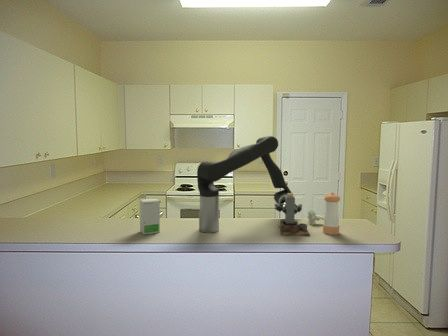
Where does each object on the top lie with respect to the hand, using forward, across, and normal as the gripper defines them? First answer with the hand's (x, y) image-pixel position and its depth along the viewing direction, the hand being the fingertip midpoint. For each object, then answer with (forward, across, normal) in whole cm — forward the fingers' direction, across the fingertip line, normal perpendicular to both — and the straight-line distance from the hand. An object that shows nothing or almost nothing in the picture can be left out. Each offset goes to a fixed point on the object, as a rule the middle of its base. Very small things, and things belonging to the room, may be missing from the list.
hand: (290, 211), depth 148 cm
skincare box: (+3, -67, +10) cm, 67 cm away
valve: (-17, +17, +11) cm, 26 cm away
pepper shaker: (-3, +19, +11) cm, 22 cm away
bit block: (-3, +2, +10) cm, 11 cm away
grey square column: (-3, 0, +8) cm, 8 cm away
